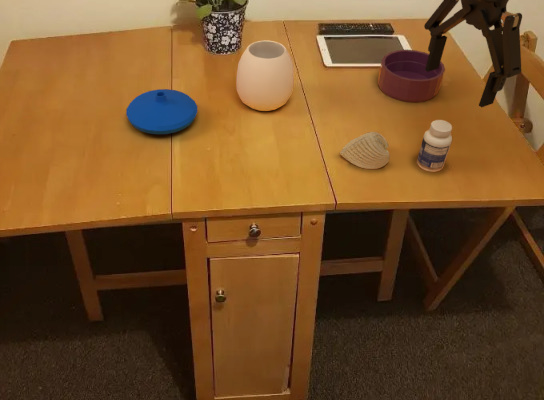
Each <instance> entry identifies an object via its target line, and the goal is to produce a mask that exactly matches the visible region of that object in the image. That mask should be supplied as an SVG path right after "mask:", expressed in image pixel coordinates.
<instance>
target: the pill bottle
mask: <svg viewBox="0 0 544 400" xmlns="http://www.w3.org/2000/svg"><path fill="white" fill-rule="evenodd" d="M452 131H453V125H452V124H451V122H448V121H447V120H444V119H435V120H433V121H432V122H431V123H430V127H429V129H427V130H426V131H425V132H424V134H423V137H422V140H421V143H420V147H419V151H418V155H417V159H416V165H417V166H418V167H419V168H420V169H422V170H423V171H426V172H430V173H436V172H439V171H442V170H443V168H444V166H445V163H446V160H447V159H448V155H449V152H450V149H451V145H452V142H453V137H452Z"/></svg>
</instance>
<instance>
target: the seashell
mask: <svg viewBox="0 0 544 400" xmlns="http://www.w3.org/2000/svg"><path fill="white" fill-rule="evenodd" d="M388 148H389V142H388V141H387V139H386V138H385V136H383V135H382V134H381V133H380V132H377V131H370V132H365V133H363V134H361V135H359V136H357V137H355V138H353V139H350V141H349V142H348V143H346V144H345V145H344V147H343V148H341V151H340V152H339V154H340V156H342V157H343V158H344V159H345V160H346V161H348V162H349V163H351V164H352V165H354V166H356V167H358V168H362V169H366V170H377V169H380V168H383V167H385V166H386V165H387V164H388V163H389V162H390V158H391V154H390V152H389V150H388Z"/></svg>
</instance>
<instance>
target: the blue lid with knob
mask: <svg viewBox="0 0 544 400" xmlns="http://www.w3.org/2000/svg"><path fill="white" fill-rule="evenodd" d="M197 114H198V105H197V103H196V101H195V100H194V99H193V98H192V97H191V96H190V95H188V94H187V93H185V92H182V91H179V90H176V89H169V88H161V89H160V88H159V89H154V90H149V91H146V92H143V93H141V94H139V95H137V96H135V98H134V99H132V100H131V101H130V103H129V104H128V105H127V108H126V112H125V115H126V117H127V120H128V121H129V123H130V125H132V126H133V128H135V129H137V130H138V131H140V132H143V133H146V134H150V135H169V134H174V133H177V132H180V131H183V130H184V129H186V128H188V127H190V126H191V124H192V123H194V121H195V119H196V117H197Z"/></svg>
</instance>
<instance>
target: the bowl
mask: <svg viewBox="0 0 544 400" xmlns="http://www.w3.org/2000/svg"><path fill="white" fill-rule="evenodd" d="M428 57H429V53H428V52H424V51H422V50H421V51H420V50H415V49H397V50H393V51H390V52H388V53H386V54H384V56H383V57H382V59H381V62H380V65H379V66H380V67H379V71H378V76H377V84H378V87H379V89H380V91H381V92H382V93H383V94H384V95H385V96H387V97H389V98H391V99H394V100H396V101H400V102H405V103H422V102H423V103H424V102H428V101H429V100H432V99H433V98H435V97H436V96H437V95H438V94H439V91H440V88H441V85H442V81H443V79H444V75H445V71H446V67H445V64H444V63H443V62H442V60H441V61H440V65H439V68H438V69H435V70H432V71H429V72H427V71H426V70H425V68H426V64H427V60H428Z"/></svg>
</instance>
